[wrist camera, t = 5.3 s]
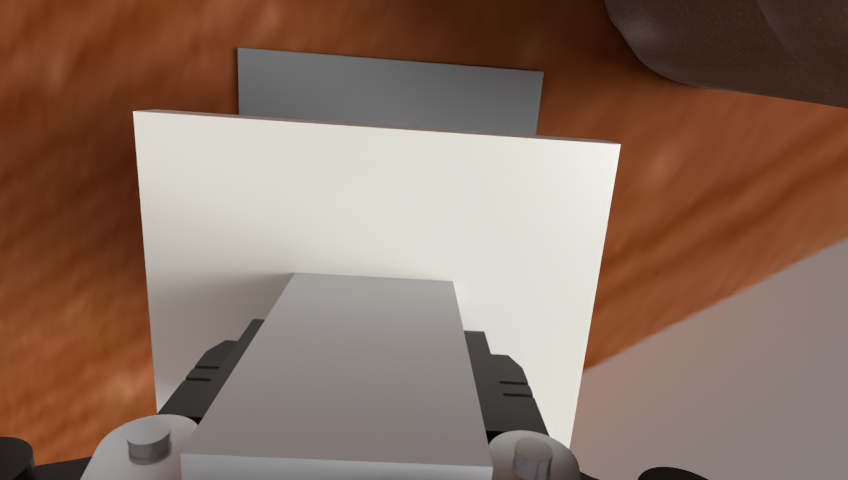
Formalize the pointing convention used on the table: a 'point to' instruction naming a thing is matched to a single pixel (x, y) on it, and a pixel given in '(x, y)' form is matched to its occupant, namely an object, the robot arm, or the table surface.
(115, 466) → the robot arm
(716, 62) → the plant pot
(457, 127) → the mat
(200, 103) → the table surface
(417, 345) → the lid
